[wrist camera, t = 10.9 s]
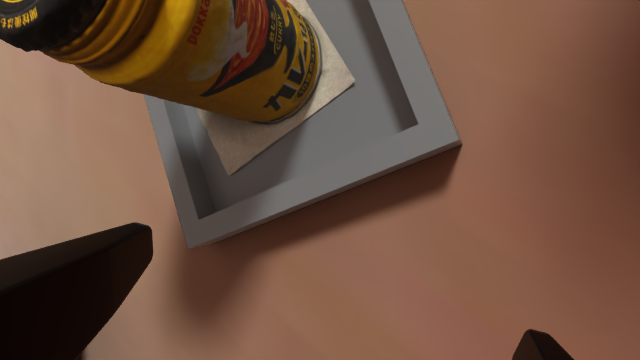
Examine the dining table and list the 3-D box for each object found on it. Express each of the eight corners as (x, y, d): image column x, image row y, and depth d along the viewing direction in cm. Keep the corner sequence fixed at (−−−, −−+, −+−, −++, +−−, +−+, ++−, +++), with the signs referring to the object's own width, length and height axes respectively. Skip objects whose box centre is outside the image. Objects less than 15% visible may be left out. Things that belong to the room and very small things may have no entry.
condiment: (357, 81, 18) (158, -72, 7) (230, 176, 21) (-49, 167, 10) (286, -32, 20) (37, -296, 9) (177, 70, 23) (-114, -36, 12)
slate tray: (462, 144, 17) (459, 139, 15) (212, 243, 22) (187, 248, 20) (343, -142, 19) (328, -176, 17) (143, 10, 25) (115, -4, 23)
